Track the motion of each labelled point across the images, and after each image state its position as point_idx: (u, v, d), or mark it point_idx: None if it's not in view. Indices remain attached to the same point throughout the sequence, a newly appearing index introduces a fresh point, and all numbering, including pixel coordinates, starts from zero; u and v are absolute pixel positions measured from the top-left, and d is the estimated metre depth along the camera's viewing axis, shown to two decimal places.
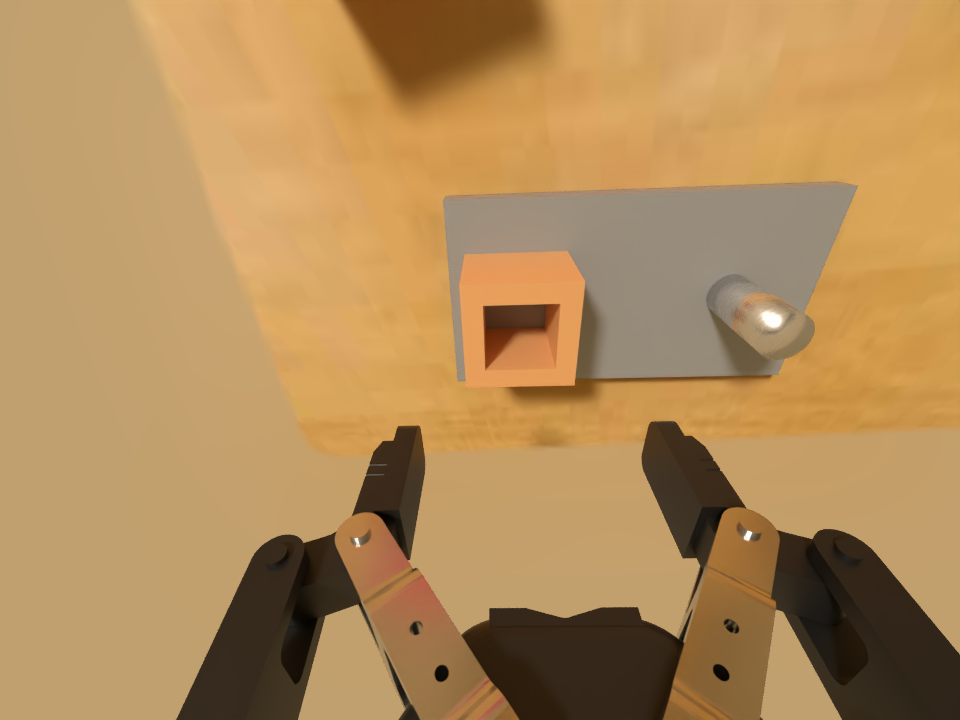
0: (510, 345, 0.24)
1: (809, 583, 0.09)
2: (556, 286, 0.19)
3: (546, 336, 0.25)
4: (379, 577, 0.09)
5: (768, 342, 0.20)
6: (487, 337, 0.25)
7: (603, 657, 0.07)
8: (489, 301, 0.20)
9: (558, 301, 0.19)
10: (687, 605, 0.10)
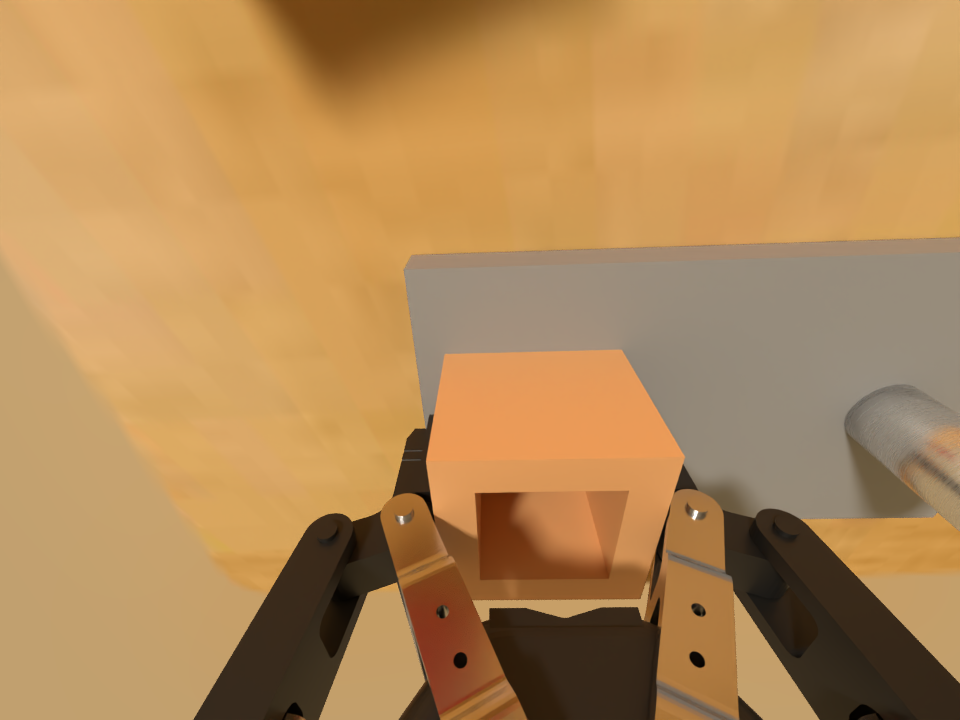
0: (522, 504, 0.14)
1: (749, 558, 0.10)
2: (624, 464, 0.09)
3: None
4: (416, 557, 0.09)
5: None
6: None
7: (603, 657, 0.07)
8: (488, 485, 0.10)
9: (626, 486, 0.10)
10: (649, 590, 0.11)
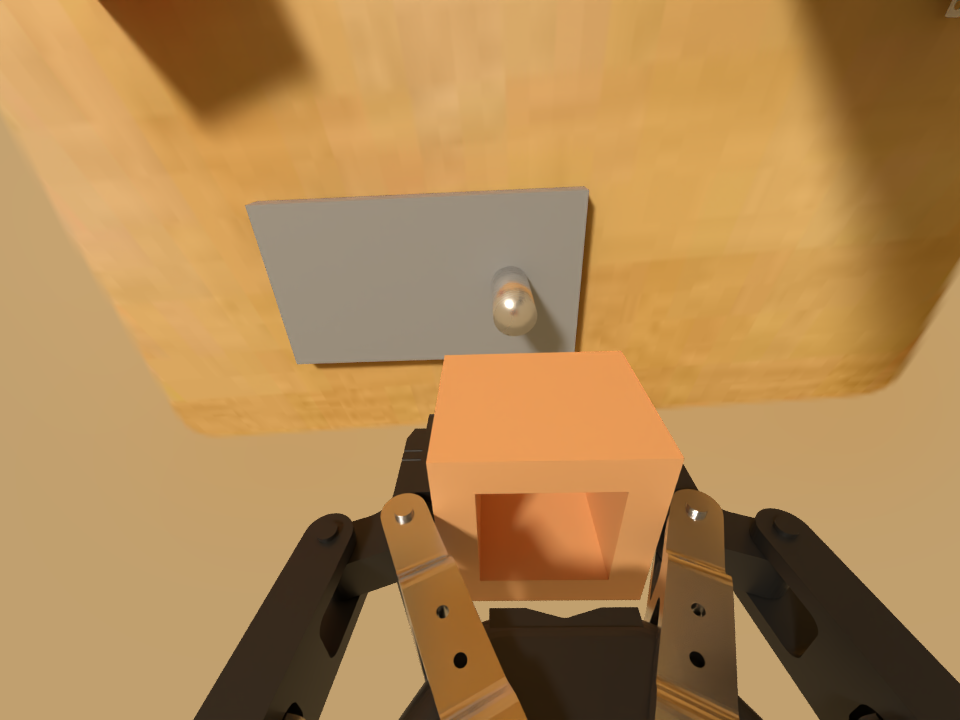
0: (522, 505, 0.14)
1: (749, 558, 0.10)
2: (624, 465, 0.09)
3: None
4: (416, 557, 0.09)
5: (502, 321, 0.24)
6: None
7: (603, 657, 0.07)
8: (488, 487, 0.10)
9: (625, 487, 0.10)
10: (649, 590, 0.11)
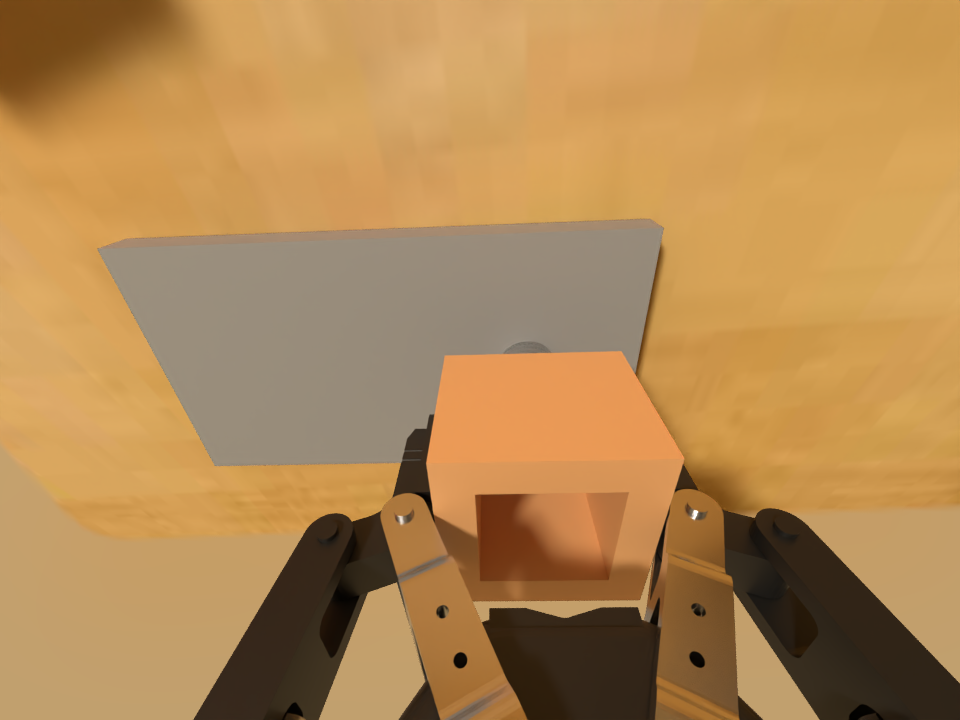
0: (522, 505, 0.14)
1: (750, 558, 0.10)
2: (624, 466, 0.09)
3: None
4: (416, 557, 0.09)
5: None
6: None
7: (603, 657, 0.07)
8: (488, 487, 0.10)
9: (625, 488, 0.10)
10: (649, 591, 0.11)
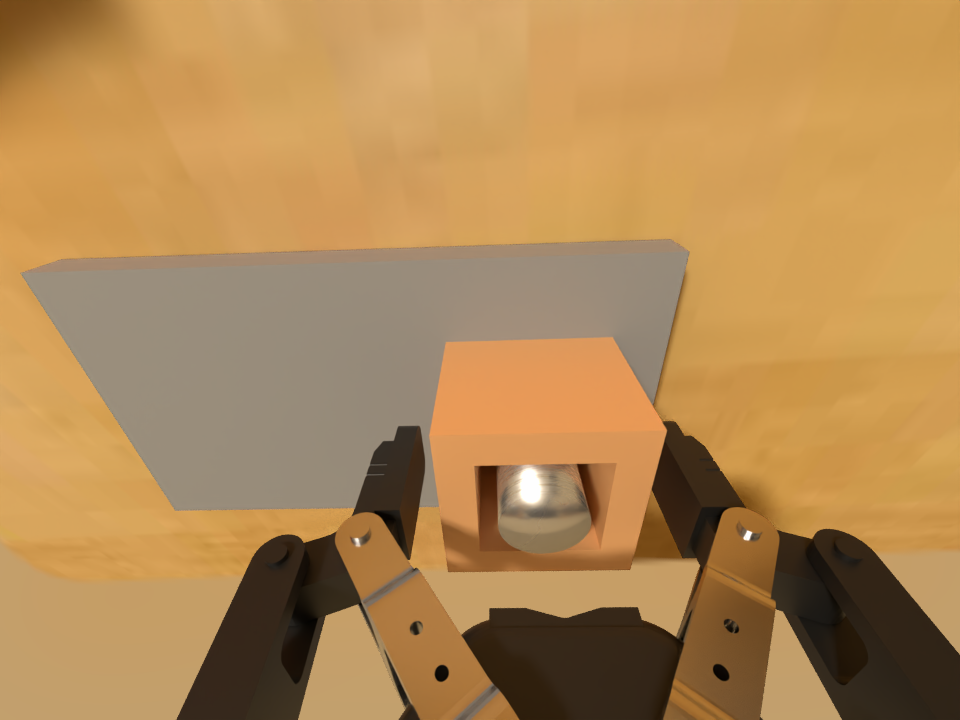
0: None
1: (808, 583, 0.09)
2: (611, 437, 0.10)
3: None
4: (379, 577, 0.09)
5: (517, 531, 0.11)
6: None
7: (603, 657, 0.07)
8: (487, 459, 0.11)
9: (613, 459, 0.11)
10: (687, 605, 0.10)
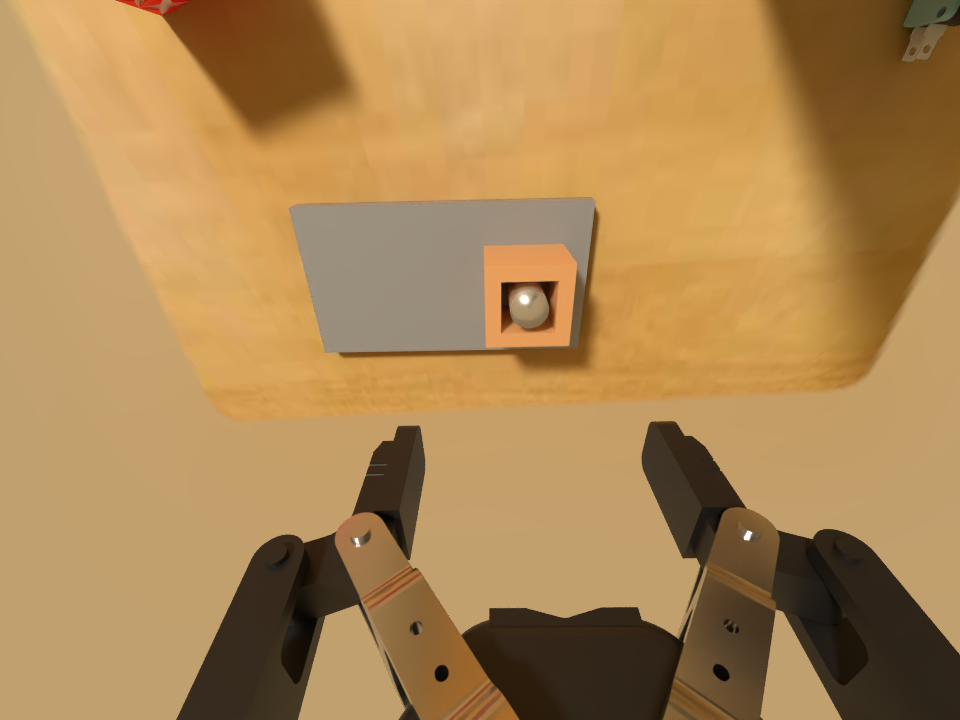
0: None
1: (809, 583, 0.09)
2: (556, 267, 0.26)
3: None
4: (379, 577, 0.09)
5: (518, 314, 0.27)
6: None
7: (603, 657, 0.07)
8: (506, 278, 0.26)
9: (557, 278, 0.26)
10: (687, 605, 0.10)
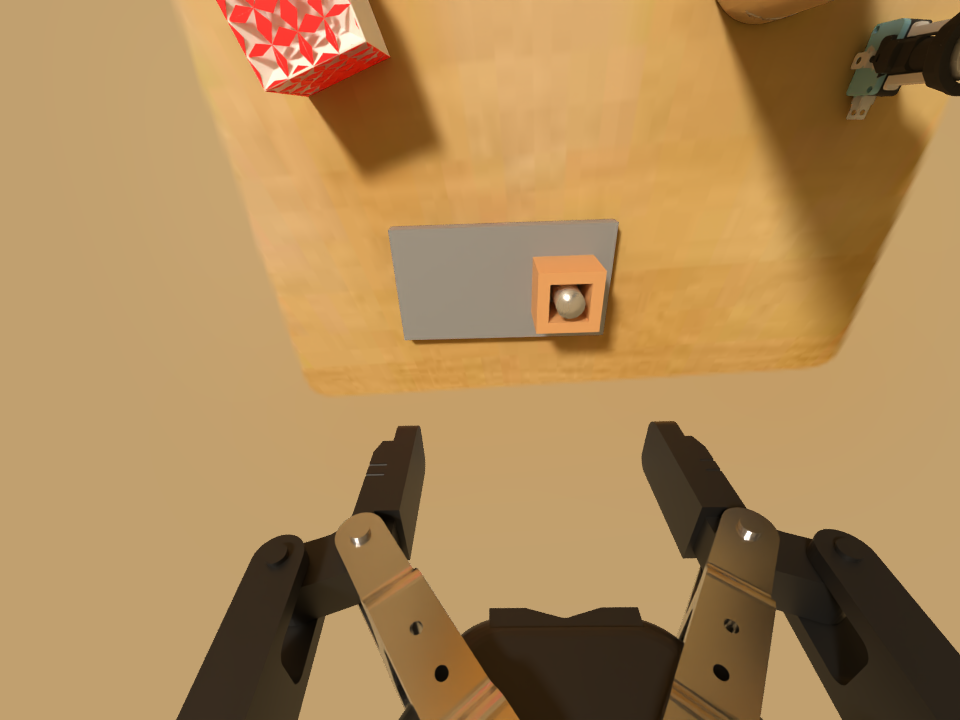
0: None
1: (809, 583, 0.09)
2: (591, 273, 0.35)
3: None
4: (379, 577, 0.09)
5: (562, 308, 0.36)
6: None
7: (603, 657, 0.07)
8: (554, 282, 0.36)
9: (592, 282, 0.36)
10: (687, 605, 0.10)
